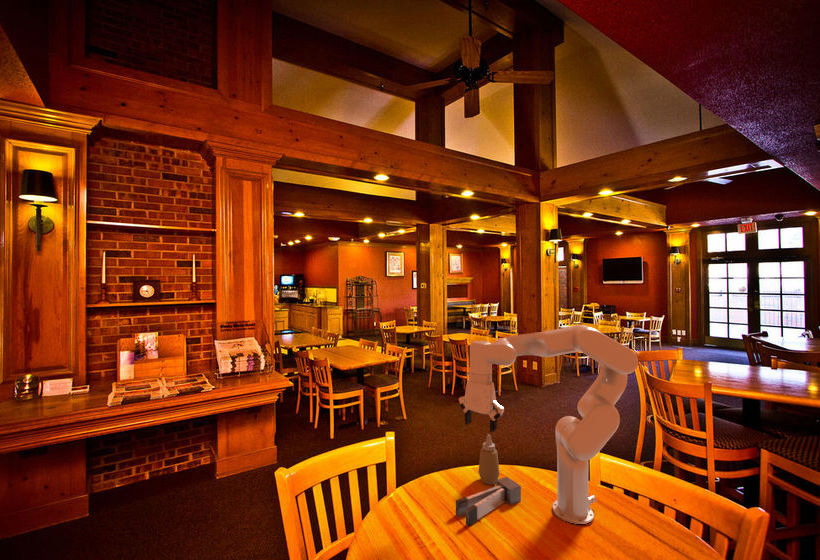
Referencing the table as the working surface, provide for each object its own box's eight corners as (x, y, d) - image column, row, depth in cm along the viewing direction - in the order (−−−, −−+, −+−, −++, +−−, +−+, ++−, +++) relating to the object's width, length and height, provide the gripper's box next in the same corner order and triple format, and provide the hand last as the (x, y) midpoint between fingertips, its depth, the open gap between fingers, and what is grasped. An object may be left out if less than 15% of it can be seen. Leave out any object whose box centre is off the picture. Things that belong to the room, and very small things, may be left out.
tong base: (506, 491, 137) (506, 476, 137) (520, 501, 131) (520, 485, 131) (452, 512, 125) (452, 495, 125) (465, 523, 119) (465, 506, 119)
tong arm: (501, 500, 131) (501, 487, 131) (505, 502, 130) (504, 489, 130) (465, 523, 118) (465, 509, 118) (469, 526, 117) (469, 511, 117)
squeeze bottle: (501, 487, 140) (501, 439, 140) (480, 487, 140) (480, 439, 140) (497, 475, 148) (496, 430, 148) (476, 475, 148) (476, 430, 148)
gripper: (453, 375, 130) (453, 423, 130) (498, 384, 119) (498, 437, 119) (465, 371, 136) (464, 418, 136) (509, 379, 125) (508, 430, 125)
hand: (480, 427), depth 127 cm, fingers open, 9 cm apart
